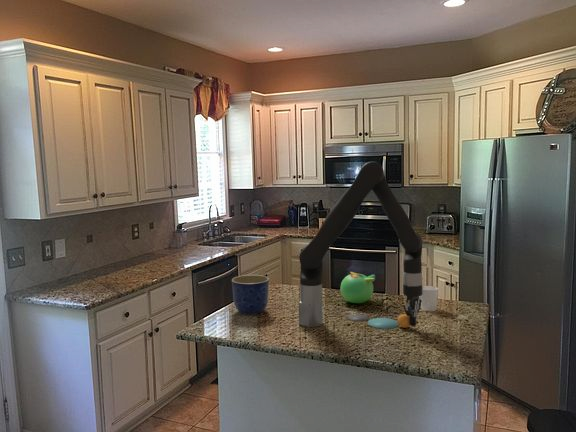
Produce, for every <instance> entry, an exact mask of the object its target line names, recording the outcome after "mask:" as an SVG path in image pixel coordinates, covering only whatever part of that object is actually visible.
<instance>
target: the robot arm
mask: <svg viewBox="0 0 576 432" xmlns="http://www.w3.org/2000/svg"><path fill="white" fill-rule="evenodd" d="M386 178H387V177H386V176H385V171H384V169H383V166H382V165H381V164H380V163H378V162H377V161H369V162H366V163H364V164H363V165H362V166H361V168H360V169H359V171H358V173H357V175H356V177H355V179H354V180H353V182H352V183H351V185H350V187H348V189H347V190H346V191H345V192H344V193H343V194H342V195H341V197H340V198H339V199H338V200H337V202H336V203H335V204H334V206H332V208H331V209H330V211H329V213H327V215H326V217H325V218H324V221H322V224H321V226H320V228H319V230H318V232H316V235H315V236H314V237H313V238H312V240H311V241H310V242H309V243H308V244H306V245H305V246H303V248H302V249H301V251H300V253H299V256H298V257H299V258H298V259H299V263H300V275H299V276H300V277H299V280H300V281H299V287H300V288H299V295H300V296H299V300H300V301H299V302H298V325H301V326H304V327H307V328H312V327H313V328H315V327H319V326H322V324H323V259H324V258H325V256H326V254H327V252H328V250H329V249H330V247H331V246H332V245H333V244H334V243H335V241H336V240H337V239H338V238H339V237H340V236H341V234H343V232H344V231H345V230H346V229H347V228H348V226H349V225H350V224H351V222H352V221H353V219H355V216H356V215H357V213H358V211H359V210H360V208H361V205H362V203H363V202H364V200H365V198H367V196H368V195H369V193H370V192H371V191H372V192H373V193H374V194H375V196H376V198H377V200H378V201H379V203H380V205H381V207H382V210H383V211H384V214H385V215H386V218H387V219H388V221H389V222H390V224H391V226H392V228H393V229H394V231H395V233H396V235H397V237H398V240H399V242H400V244H401V246H402V248H403V249H404V258H403V264H402V265H403V273H402V274H403V275H402V294H403V295H404V296H406V301H405V302H406V305H403V310H404V312H405V314H406V315H407V316H409V317H410V326H412V327H415V326H416V325H417V317H418V314H419V313H420V310H421V302H422V300H421V298H420V297H421V295H422V294H423V291H422V286H423V268H422V267H423V266H422V265H423V263H422V252H423V238H422V236H421V234H419V233H418V232H415V230H414V228H413V226H412V223H411V220H410V218H409V217H408V214H407V213H406V211H405V210H404V207H403V206H402V204H401V203H400V202H399V200H398V199H397V197H396V195H394V193H393V191H392V189H391V187H390V185H389V183H388V181H387V179H386Z"/></svg>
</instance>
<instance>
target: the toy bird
mask: <svg viewBox="0 0 576 432" xmlns="http://www.w3.org/2000/svg"><path fill="white" fill-rule="evenodd" d="M349 272H350V274H348V275H346V276H345V277H344V278H343V279H342V281H341V283H340V293H341V294H340V295H341V296H342V297H343V298H344V300H345V301H347V302H349V303H352V304H363V303H366V302H367V301H369V300H370V299H371V297H372V296H373V293H374V284H373V282H374V281H376V275H375V274H371V275H368V276H367V275H364V274H362V273H356V272H353V271H349Z"/></svg>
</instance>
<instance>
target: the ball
mask: <svg viewBox="0 0 576 432" xmlns="http://www.w3.org/2000/svg"><path fill="white" fill-rule="evenodd" d="M396 321H397V322H398V324H399V326H398V327H400V328H403V329H406V328H409V327H410V326H411V325H410V316H407V315H406V313H403V314H399V316H398V317H397V320H396Z"/></svg>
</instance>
